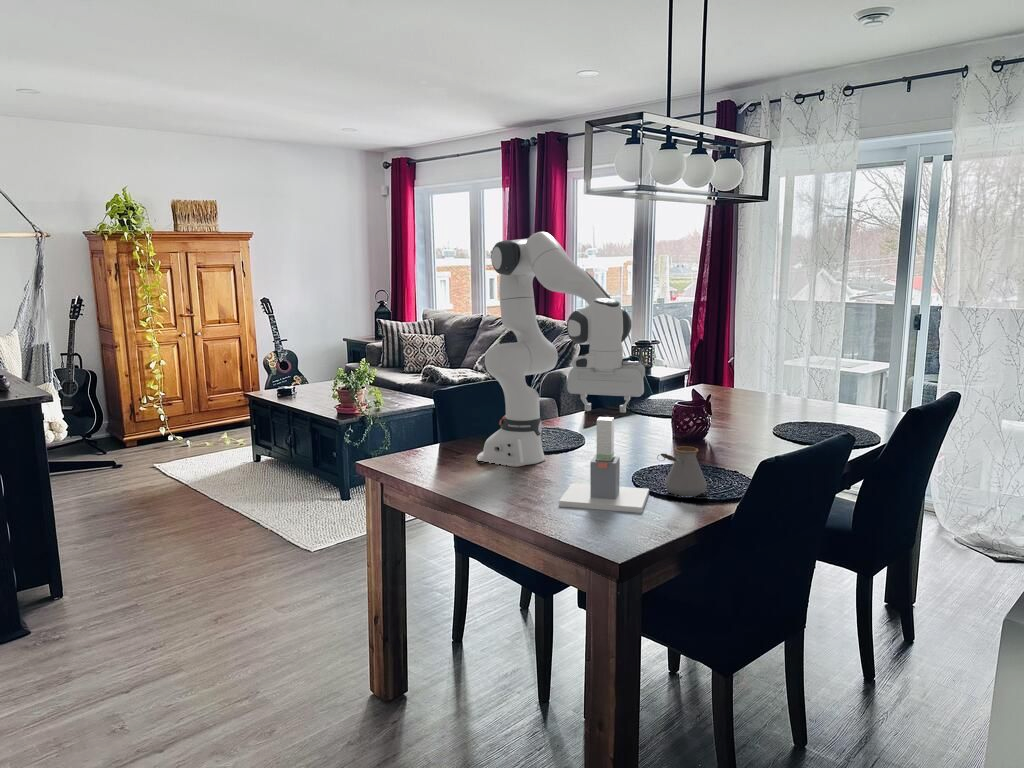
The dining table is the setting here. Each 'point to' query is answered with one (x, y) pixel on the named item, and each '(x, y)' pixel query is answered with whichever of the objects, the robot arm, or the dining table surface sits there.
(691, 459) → the coffee pot
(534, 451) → the robot arm
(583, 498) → the stand
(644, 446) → the dining table surface
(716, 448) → the dining table surface
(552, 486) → the dining table surface
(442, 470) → the dining table surface
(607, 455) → the column
